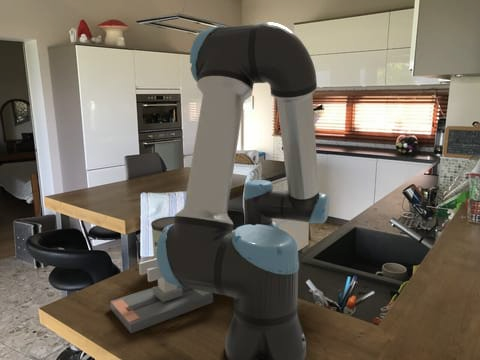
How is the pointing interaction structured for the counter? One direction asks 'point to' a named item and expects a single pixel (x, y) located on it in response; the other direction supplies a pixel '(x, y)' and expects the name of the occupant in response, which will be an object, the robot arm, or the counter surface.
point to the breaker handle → (167, 290)
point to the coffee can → (159, 229)
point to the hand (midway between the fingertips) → (144, 272)
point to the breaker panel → (156, 307)
